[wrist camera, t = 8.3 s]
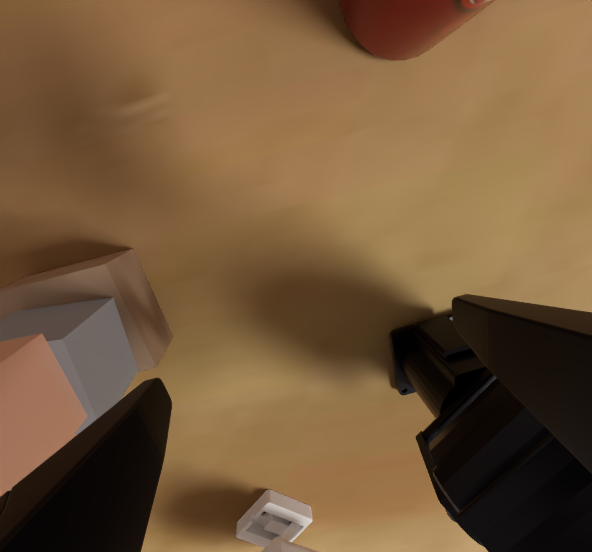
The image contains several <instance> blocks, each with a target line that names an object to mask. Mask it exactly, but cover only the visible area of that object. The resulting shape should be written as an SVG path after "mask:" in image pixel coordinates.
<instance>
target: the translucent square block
mask: <svg viewBox="0 0 592 552" xmlns="http://www.w3.org/2000/svg"><path fill="white" fill-rule="evenodd" d="M106 298H114V301H115V304H116V307H117V310H118V313H119V316H120V319H121V321H122V324H123V327H124V330H125V333H126V336H127V339H128V342H129V345H130V347H131V350H132V353H133V356H134V359H135V362H136V365H137V368H138V372H141V371H145V370H149V369H152V368H156V367H157V365H158V364H159V362H160V360H161V358H162V356H163V354H164V353H165V351H166V349H167V347H168V345H169V343H170V342H171V340H172V338H173V335H172V333H171V330H170V328H169V326H168V324H167V322H166V319H165V317H164V315H163V313H162V311H161V308H160V306H159V304H158V302H157V300H156V297H155V295H154V293H153V291H152V289H151V286H150V284H149V282H148V280H147V278H146V276H145V273H144V271H143V269H142V267H141V265H140V262H139V260H138V258H137V256H136V254H135V251H134V249H129V250H125V251H121V252H117V253H114V254H110V255H106V256H102V257H98V258H95V259H91V260H87V261H83V262H80V263H76V264H72V265H68V266H64V267H61V268H57V269H53V270H49V271H45V272H42V273H38V274H34V275H30V276H27V277H25V278H23V279H20V280H18V281H16V282H13V283H11V284H8V285H6V286H4V287H1V288H0V321H1V320H3V319H5V318H7V317H8V316H10V315H12V314H14V313H16V312H17V311H19V310H27V309H34V308H41V307H48V306H55V305H62V304H70V303H77V302H84V301H91V300H98V299H106ZM138 372H137V373H138Z"/></svg>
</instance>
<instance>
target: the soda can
mask: <svg viewBox="0 0 592 552" xmlns="http://www.w3.org/2000/svg"><path fill="white" fill-rule="evenodd" d="M494 1H495V0H340V6H341V10H342V13H343V16H344V18H345V21H346V23H347V25H348V27H349V29H350V31H351V33H352V34H353V36H354V37H355V38H356V39H357V41H358V42H359V43H360V44H361V45H362V46H363V47H364V48H365V49H367V50H368V51H369V52H370V53H372V54H374V55H376V56H378V57H380V58H383V59H388V60H393V61H396V60H407V59H411V58H414V57H417V56H419V55H421V54H423V53H425V52H427V51H429V50H430V49H431V48H433V47H434V46H435V45H436V44H438V43H439V42H440V41H442V40H443V39H444V38H446V37H447V36H448V35H450V34H451V33H452V32H454V31H455V30H456V29H458V28H459V27H460V26H462V25H463V24H464V23H466V22H467V21H468V20H470V19H471V18H472V17H474V16H475V15H476V14H478V13H479V12H480V11H482V10H483V9H484V8H486V7H487V6H488V5H490V4H491V3H492V2H494Z"/></svg>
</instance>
